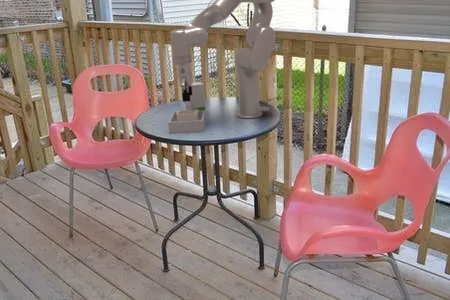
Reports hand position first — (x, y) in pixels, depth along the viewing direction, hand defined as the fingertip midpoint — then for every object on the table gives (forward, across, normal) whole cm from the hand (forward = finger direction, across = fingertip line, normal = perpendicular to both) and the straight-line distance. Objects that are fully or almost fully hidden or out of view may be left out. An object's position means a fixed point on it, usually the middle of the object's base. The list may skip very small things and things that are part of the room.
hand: (187, 98), depth 189 cm
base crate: (+13, -1, +1) cm, 13 cm away
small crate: (+12, -1, +1) cm, 12 cm away
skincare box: (+14, +18, -1) cm, 23 cm away
